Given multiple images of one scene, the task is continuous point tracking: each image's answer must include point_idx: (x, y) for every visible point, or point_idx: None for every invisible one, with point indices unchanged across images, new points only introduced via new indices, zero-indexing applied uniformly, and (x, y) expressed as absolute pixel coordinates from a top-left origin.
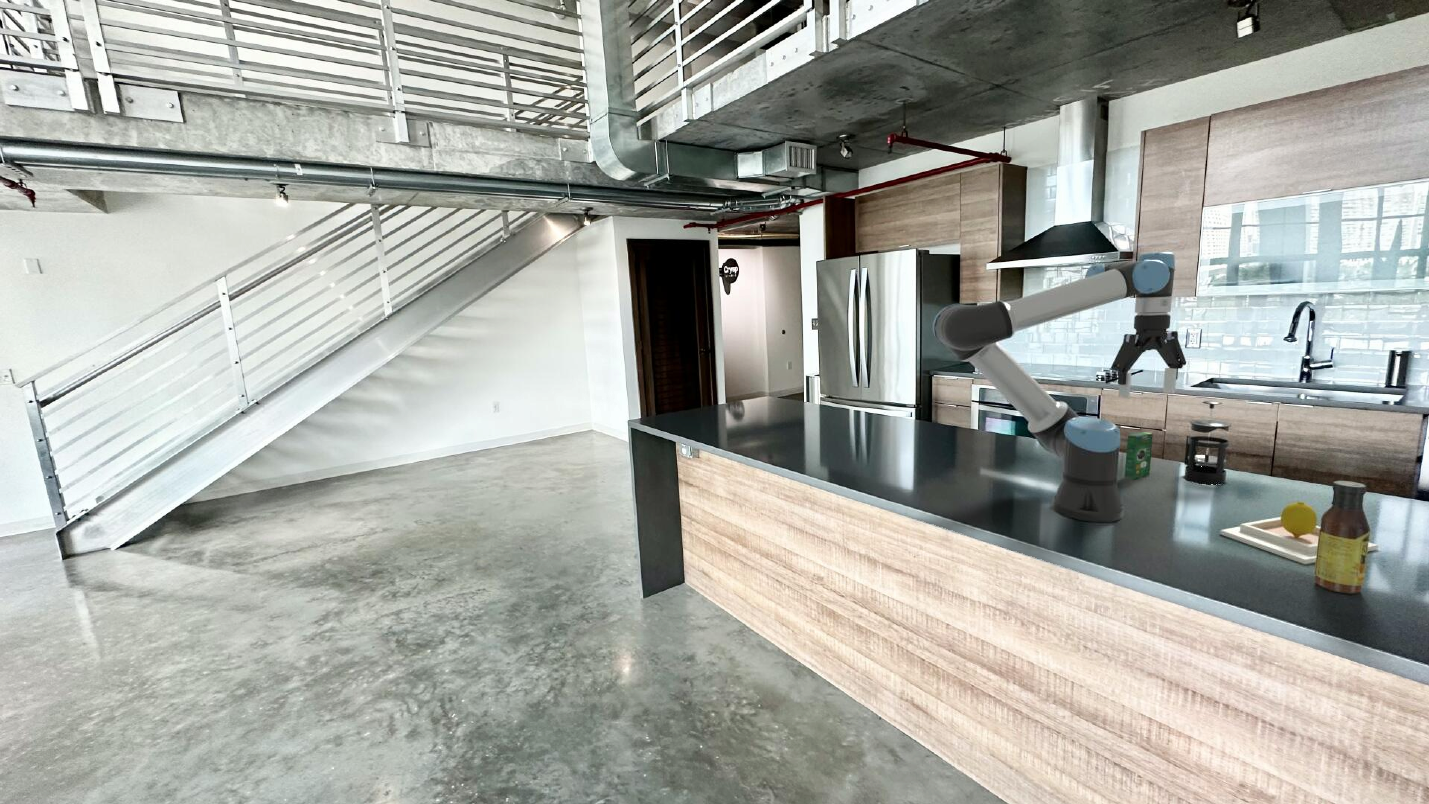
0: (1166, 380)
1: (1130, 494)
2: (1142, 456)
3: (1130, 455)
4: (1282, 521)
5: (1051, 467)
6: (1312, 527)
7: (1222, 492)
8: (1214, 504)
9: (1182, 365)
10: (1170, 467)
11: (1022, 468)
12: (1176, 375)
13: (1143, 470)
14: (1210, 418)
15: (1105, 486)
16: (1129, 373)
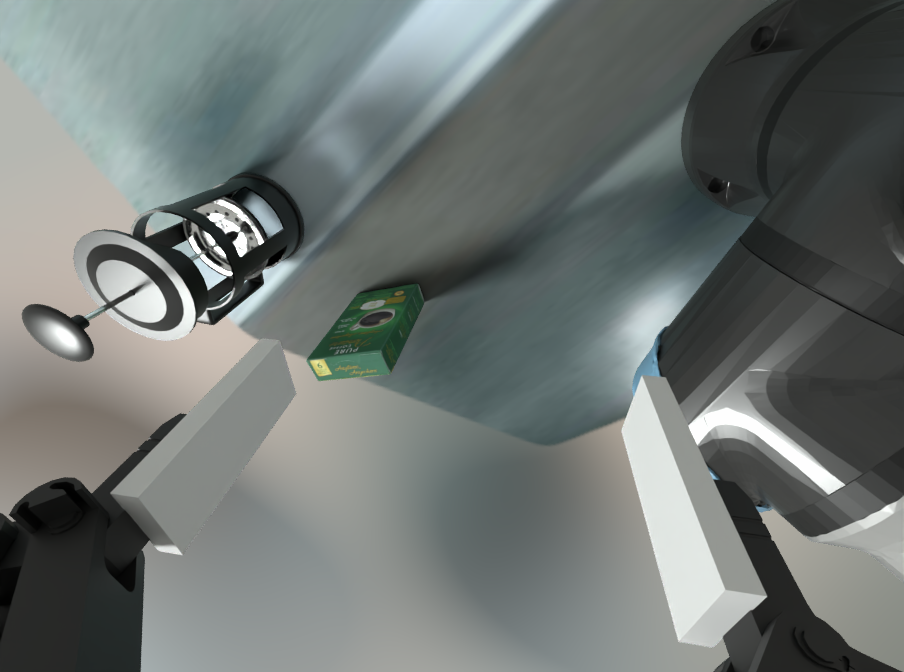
0: (246, 442)
1: (521, 196)
2: (372, 316)
3: (405, 326)
4: None
5: (514, 407)
6: None
7: (283, 123)
8: (379, 36)
9: (20, 506)
10: (273, 316)
11: (578, 425)
12: (154, 444)
13: (377, 296)
14: (121, 298)
15: None
16: (751, 586)
